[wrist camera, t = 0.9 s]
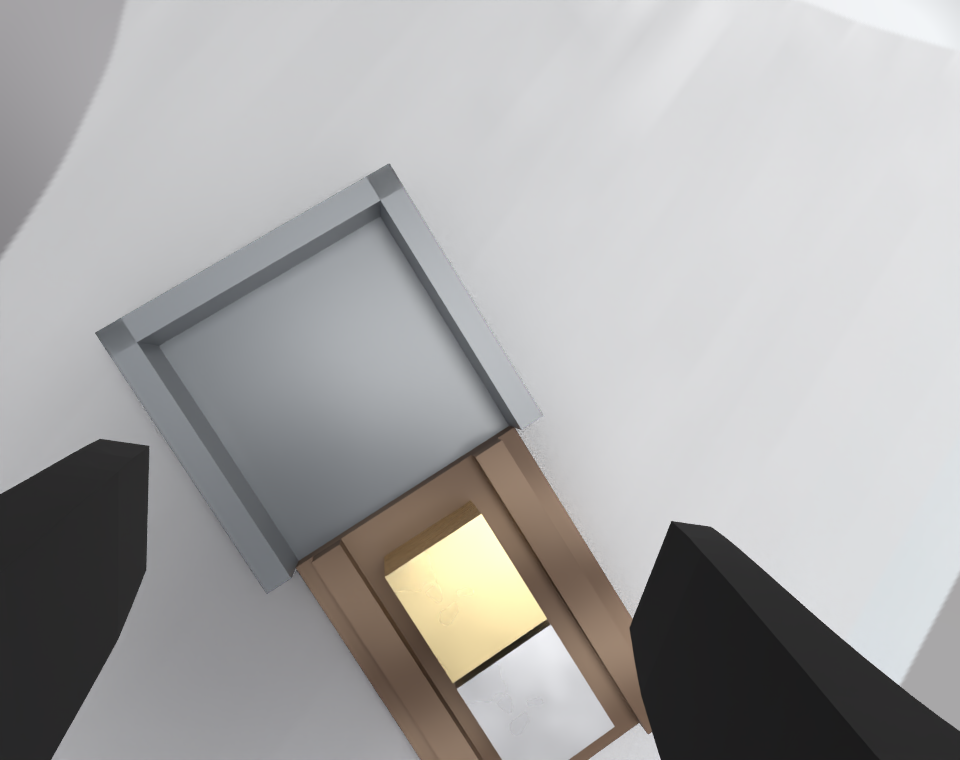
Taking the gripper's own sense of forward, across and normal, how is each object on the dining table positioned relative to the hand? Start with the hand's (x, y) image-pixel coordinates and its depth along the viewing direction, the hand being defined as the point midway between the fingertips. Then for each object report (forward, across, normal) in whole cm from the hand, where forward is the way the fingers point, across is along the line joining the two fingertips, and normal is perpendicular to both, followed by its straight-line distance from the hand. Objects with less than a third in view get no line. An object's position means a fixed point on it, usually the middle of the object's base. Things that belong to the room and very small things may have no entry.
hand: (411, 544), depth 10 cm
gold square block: (+14, -4, +12) cm, 19 cm away
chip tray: (+19, +2, +7) cm, 20 cm away
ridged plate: (+15, -6, +15) cm, 22 cm away
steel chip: (+13, -7, +16) cm, 21 cm away
